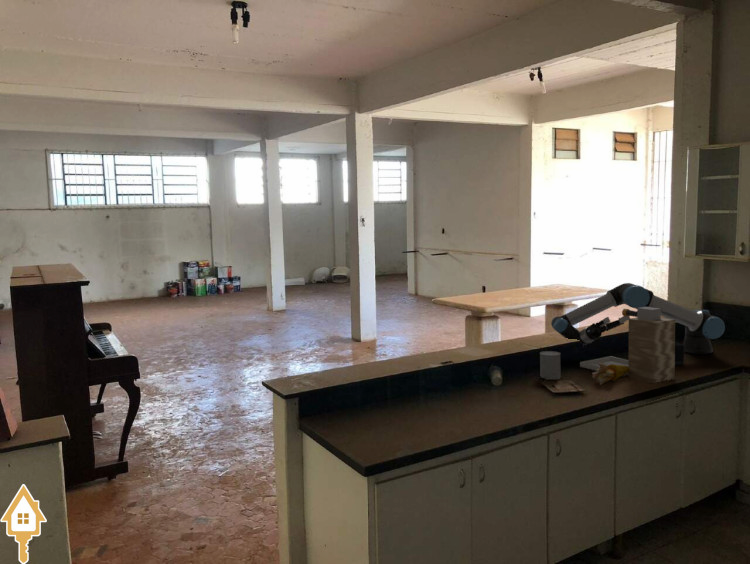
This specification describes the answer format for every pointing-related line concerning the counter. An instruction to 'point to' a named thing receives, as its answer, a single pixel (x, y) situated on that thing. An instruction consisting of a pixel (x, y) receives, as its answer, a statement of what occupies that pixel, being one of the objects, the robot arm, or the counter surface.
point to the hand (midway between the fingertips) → (619, 317)
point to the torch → (609, 372)
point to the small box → (679, 354)
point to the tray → (606, 360)
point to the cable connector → (644, 313)
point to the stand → (652, 349)
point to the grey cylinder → (550, 365)
